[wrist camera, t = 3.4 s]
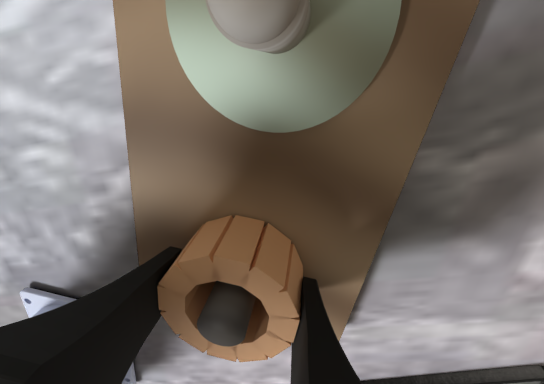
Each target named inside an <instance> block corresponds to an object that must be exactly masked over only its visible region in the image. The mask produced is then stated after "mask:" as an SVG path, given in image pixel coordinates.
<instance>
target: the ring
mask: <svg viewBox="0 0 544 384" xmlns="http://www.w3.org/2000/svg"><path fill="white" fill-rule="evenodd" d="M264 222H265V221H262V220H257V219H252V218H248V217H243V216H238V215H235V217H234V219H233V217H232V215H230V216H226V217H223V218H219V219H215V220H212V221H208V222H206V223H205V225H204V224H203V225H202V226H201V227H200V229H199V230H198V231H197V232H196V233H195V235H194V236H193V237H192V238H191V239H190V241H189V242H188V243H187V245H186V246H185V248H184V249H183V250H182V252H181V253H180V254H179V256H178V257H177V259H176V260H175V261H174V263H173V264H172V265H171V267H170V268H169V270H168V271H167V272H166V274H165V275H164V276H163V278H162V279H161V281H160V282H159V283H158V284H159V285H158V286H157V288H158V305H159V310H162V311H161V312H160V314H161V315H162V316H163V318H164V319H165V320H166V322H167V323H168V325H169V326H170V327H171V329H172V330H173V332H174V333H175V334H180V335H179V338H181V339H182V340H184V341H185V342H187V343H189V344H190V345H192V346H193V347H195V348H196V349H198V350H200V351H201V352H205V351H206V350H207V355H211V356H215V357H219V358H223V359H227V360H231V361H235V362H236V359H237V358H238V360H239V362H247V361H257V360H267V359H268V357H270V358H272V357H274V356H275V355H277V354H278V353H280V352H282V351H283V350H285V349H286V348H288V347H289V346H291V342H292V343H293V342H294V338H295V335H296V331H297V328H298V325H299V321H300V309H301V288H302V279H303V265H302V262H301V260H300V257H299V255H298V253H297V250H296V248H295V245H294V244H291V240H290V239H289V238H287V237H286V236H285V235H284V234H282V233H281V232H280V231H278V230H277V229H276V228H274V227H273V226H272V225H271V224H269V223H268V224H267V225H266V226H265V227H264ZM216 281H220V282H225V283H229V284H233V285H238V286H241V287H243V288H244V289H246V290H247V291H249V292H250V293H251V294H253V295H254V296H256V298H255V302H254V306H253V310H252V313H251V317H250V321H249V325H248V328H247V332H246V336H245V339H244V340H243V342H241V343H240V344H238V345H236V346H229V347H227V346H220V345H216V344H214V343H212V342H210V341H208V340H207V339H205V338H204V337H203V336H202V335H201V334H200V332H199V331H198V328H197V320H198V318H199V316H200V314H201V312H202V309H203V307H204V305H205V303H206V301H207V299H208V297H209V295H210V292H211V290H212V288H213V286H214V284H215V282H216Z"/></svg>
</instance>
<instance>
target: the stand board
mask: <svg viewBox="0 0 544 384" xmlns="http://www.w3.org/2000/svg"><path fill="white" fill-rule="evenodd" d="M479 2H480V0H113V7H114V17H115V28H116V38H117V48H118V58H119V68H120V78H121V88H122V99H123V109H124V119H125V129H126V139H127V149H128V160H129V170H130V180H131V190H132V200H133V210H134V221H135V231H136V241H137V251H138V261H139V266H140V265H142V264H144V263H145V262H147V261H148V260H150V259H151V258H153V257H154V256H156V255H157V254H159V253H160V252H162V251H163V250H165V249H167V248H168V247H170V246H172V247H176V248H181V249H182V250H183V249H184V248H185V246H186V245H187V243H188V242H189V241H190V239H191V238H192V237H193V236H194V235H195V233H196V232H197V231H198V230H199V229H200V227H201V226H202V225H203V224H204V225H205V223H206V222H208V221H212V220H215V219H219V218H223V217H226V216H230V215H232V217H233V219H234V217H235V215H238V216H243V217H248V218H252V219H257V220H262V221H265V222H264V227H265V226H266V225H267V224H268V223H269V224H271V225H272V226H273V227H274V228H276V229H277V230H278V231H280V232H281V233H282V234H284V235H285V236H286V237H287V238H289V239H290V240H291V244H294V245H295V248H296V250H297V253H298V255H299V257H300V260H301V262H302V265H303V276H304V277H308V278H313V279H316V280H317V282H318V286H319V290H320V294H321V297H322V300H323V304H324V307H325V309H326V312H327V315H328V317H329V320H330V323H331V325H332V327H333V330H334V332H335V334H336V336H337V339H338V341H339V340H340V338H341V335H342V333H343V331H344V328H345V326H346V323H347V321H348V319H349V316H350V314H351V311H352V309H353V306H354V304H355V302H356V299H357V297H358V294H359V292H360V290H361V287H362V285H363V282H364V280H365V277H366V275H367V273H368V270H369V268H370V265H371V263H372V260H373V258H374V256H375V253H376V251H377V248H378V246H379V244H380V241H381V239H382V236H383V234H384V231H385V229H386V227H387V224H388V222H389V219H390V217H391V214H392V212H393V210H394V207H395V205H396V202H397V200H398V198H399V195H400V193H401V190H402V188H403V185H404V183H405V181H406V178H407V176H408V173H409V171H410V168H411V166H412V164H413V161H414V159H415V156H416V154H417V152H418V149H419V147H420V144H421V142H422V139H423V137H424V135H425V132H426V130H427V127H428V125H429V123H430V120H431V118H432V115H433V113H434V110H435V108H436V106H437V103H438V101H439V98H440V96H441V93H442V91H443V89H444V86H445V84H446V81H447V79H448V77H449V74H450V72H451V69H452V67H453V64H454V62H455V60H456V57H457V55H458V52H459V50H460V47H461V45H462V43H463V40H464V38H465V35H466V33H467V31H468V28H469V26H470V23H471V21H472V18H473V16H474V14H475V11H476V9H477V6H478V4H479ZM255 298H256V296H254V295H253V294H251V293H250V292H249V291H247V290H246V289H244V288H243V287H241V286H238V285H233V284H229V283H225V282H220V281H216V282H215V284H214V286H213V288H212V290H211V292H210V295H209V297H208V299H207V301H206V303H205V305H204V307H203V309H202V312H201V314H200V316H199V318H198V320H197V328H198V331H199V332H200V334H201V335H202V336H203V337H204V338H205V339H207V340H208V341H210V342H212V343H214V344H216V345H220V346H227V347H229V346H236V345H238V344H240V343H241V342H243V340H244V339H245V336H246V332H247V328H248V325H249V321H250V317H251V313H252V310H253V306H254V302H255Z"/></svg>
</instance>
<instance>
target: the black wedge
mask: <svg viewBox="0 0 544 384" xmlns="http://www.w3.org/2000/svg"><path fill="white" fill-rule="evenodd" d="M361 383H362V384H544V366H540V365H528V366H518V367H507V368H497V369H486V370H476V371H465V372H454V373H444V374H433V375H423V376H412V377H402V378H391V379H381V380H370V381H361Z"/></svg>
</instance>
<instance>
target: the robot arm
mask: <svg viewBox="0 0 544 384" xmlns="http://www.w3.org/2000/svg"><path fill="white" fill-rule="evenodd" d="M181 252H182V249H181V248H176V247H172V246H170V247H168V248H167V249H165V250H163V251H162V252H160V253H159V254H157V255H156V256H154V257H153V258H151V259H150V260H148V261H147V262H145V263H144V264H142V265H140V266H139V267H137V268H136V269H134V270H133V271H131V272H129V273H128V274H126V275H124V276H122V277H121V278H119V279H117V280H116V281H114V282H112V283H110V284H108V285H107V286H105V287H103V288H101V289H99V290H97V291H95V292H93V293H91V294H88V295H86V296H84V297H82V298H80V299H73V298H69V297H65V296H61V295H57V294H53V293H49V292H45V291H41V290H37V289H33V288H28V287H26V288H24V289H23V290H22V291H21V292H20V296H21V298H22V301H23V303H24V306H25V309H26V311H27V314H28V316H29V318H28V319H25V320H22V321H19V322H15V323H12V324H9V325H5V326H2V327H0V384H136V377H135V370H134V363H133V361H134V359H135V357H136V355H137V353H138V352H139V350H140V348H141V346H142V345H143V343H144V341H145V340H146V338H147V337H148V335H149V334H150V332H151V331H152V329H153V328H154V326H155V324H156V323H157V321H158V320H159V318H160V317H161V314H160V312H161V311H162V310H159V305H158V288H157V286H158V285H159V284H158V283H159V282H160V281H161V279H162V278H163V276H164V275H165V274H166V272H167V271H168V270H169V268H170V267H171V265H172V264H173V263H174V261H175V260H176V259H177V257H178V256H179V254H180V253H181ZM291 384H362V383H361V381H360V379H359V378H358V376H357V375H356V373H355V371H354V369H353V368H352V366H351V364H350V362H349V361H348V359H347V357H346V355H345V353H344V351H343V349H342V347H341V345H340V343H339V341H338V339H337V336H336V334H335V332H334V330H333V327H332V325H331V323H330V320H329V317H328V315H327V312H326V309H325V307H324V304H323V300H322V297H321V294H320V290H319V286H318V282H317V280H316V279H313V278H308V277H304V276H303V279H302V288H301V309H300V321H299V325H298V328H297V331H296V335H295V338H294V342H293V343H292V361H291Z"/></svg>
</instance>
